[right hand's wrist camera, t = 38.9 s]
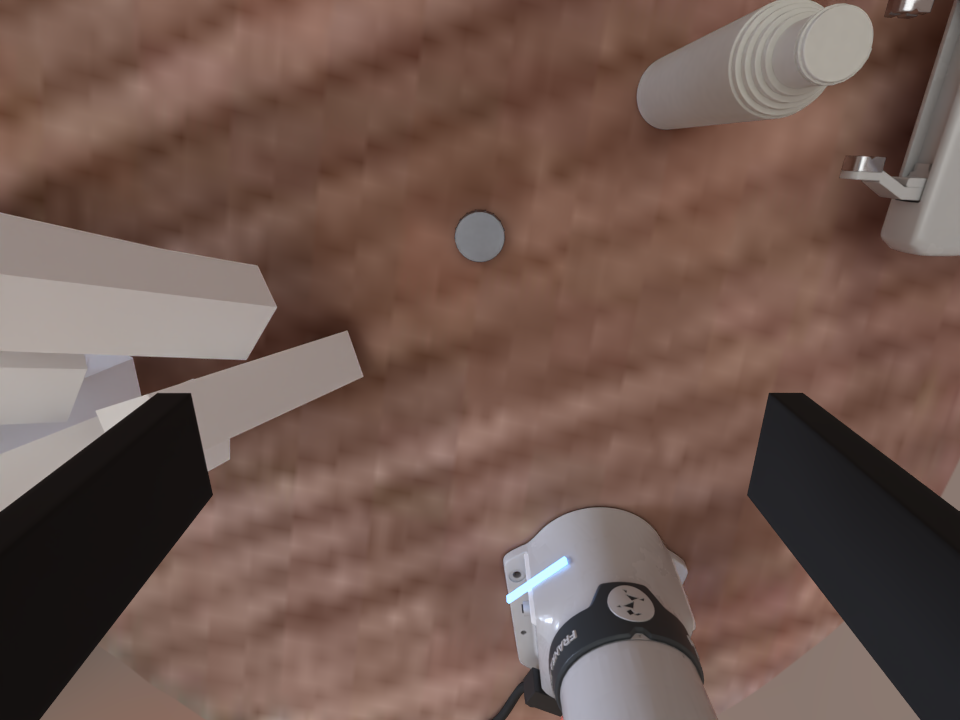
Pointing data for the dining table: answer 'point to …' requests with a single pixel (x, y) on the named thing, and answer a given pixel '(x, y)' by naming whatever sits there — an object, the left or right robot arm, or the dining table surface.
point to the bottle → (757, 66)
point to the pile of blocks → (134, 345)
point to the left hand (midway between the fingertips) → (869, 87)
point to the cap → (479, 236)
